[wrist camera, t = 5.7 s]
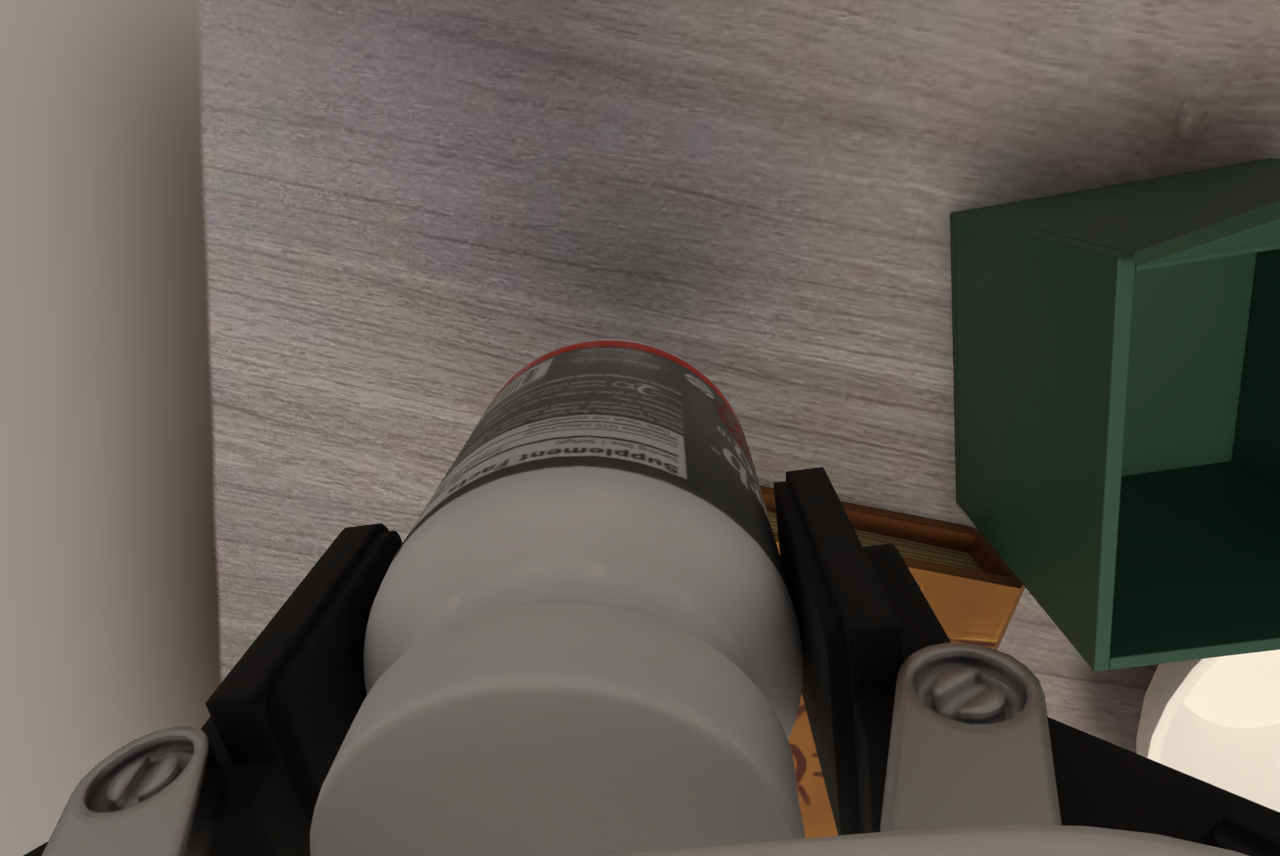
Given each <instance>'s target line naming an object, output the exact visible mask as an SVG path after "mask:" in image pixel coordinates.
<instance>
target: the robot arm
mask: <svg viewBox="0 0 1280 856" xmlns="http://www.w3.org/2000/svg"><path fill="white" fill-rule="evenodd" d="M774 497H775V507H776V518H777V528H778V539H779V549H780V557H781V561H782V564H783V567H784V571H785V574H786V577H787V581H788V584H789V588H790V591H791V594H792V598H793V601H794V605H795V609H796V613H797V617H798V625H799V631H800V637H801V643H802V649H803V683H802V692H801V693H802V697H803V700H804V704H805V708H806V712H807V716H808V720H809V724H810V728H811V732H812V735H813V739H814V743H815V747H816V751H817V755H818V759H819V763H820V767H821V770H822V774H823V778H824V782H825V786H826V790H827V794H828V798H829V802H830V805H831V809H832V813H833V817H834V821H835V825H836V829H837V832H838V836H828V837H816V838H804V839H792V840H781V841H769V842H757V843H745V844H734V845H722V846H710V847H698V848H687V849H675V850H663V851H651V852H639V853H628V854H616V855H604V856H1280V812H1277V811H1275V810H1272V809H1270V808H1268V807H1265V806H1263V805H1260V804H1258V803H1255V802H1253V801H1251V800H1248V799H1246V798H1243V797H1241V796H1238V795H1236V794H1233V793H1231V792H1229V791H1226V790H1224V789H1221V788H1219V787H1216V786H1214V785H1212V784H1209V783H1207V782H1204V781H1202V780H1199V779H1197V778H1195V777H1192V776H1190V775H1187V774H1185V773H1182V772H1180V771H1177V770H1175V769H1173V768H1170V767H1168V766H1165V765H1163V764H1160V763H1158V762H1156V761H1153V760H1151V759H1148V758H1146V757H1143V756H1141V755H1138V754H1136V753H1134V752H1131V751H1129V750H1126V749H1124V748H1121V747H1119V746H1117V745H1114V744H1112V743H1109V742H1107V741H1104V740H1102V739H1100V738H1097V737H1095V736H1092V735H1090V734H1087V733H1085V732H1082V731H1080V730H1078V729H1075V728H1073V727H1070V726H1068V725H1065V724H1063V723H1061V722H1058V721H1056V720H1053V719H1051V718H1048V717H1047V711H1046V703H1045V696H1044V693H1043V690H1042V687H1041V685H1040V682H1039V680H1038V679H1037V678H1036V677H1035V675H1034V674H1033V673H1032V672H1031V671H1030V670H1029V669H1028V668H1027V666H1025V665H1024V664H1022V663H1020V662H1019V661H1017V660H1016V659H1014V658H1013V657H1011V656H1010V655H1008V654H1005V653H1003V652H1000V651H997V650H995V649H992V648H990V647H985V646H980V645H975V644H970V643H951V641H950V639H949V638H948V636H947V634H946V632H945V631H944V629H943V627H942V625H941V624H940V622H939V620H938V618H937V617H936V615H935V613H934V612H933V610H932V608H931V606H930V605H929V603H928V601H927V599H926V598H925V596H924V594H923V593H922V591H921V589H920V587H919V586H918V584H917V582H916V580H915V579H914V577H913V575H912V573H911V572H910V570H909V568H908V567H907V565H906V563H905V561H904V560H903V558H902V556H901V554H900V553H899V551H898V549H897V548H896V547H895V545H894V544H891V543H889V544H881V545H873V546H864V547H863V546H862V544H861V542H860V540H859V538H858V536H857V534H856V532H855V530H854V528H853V526H852V524H851V522H850V520H849V518H848V516H847V514H846V512H845V510H844V508H843V506H842V504H841V502H840V500H839V498H838V496H837V494H836V492H835V490H834V488H833V486H832V484H831V482H830V480H829V478H828V476H827V474H826V472H825V470H824V468H823V467H820V468H812V469H804V470H796V471H789V472H786V481H784V482H776V483H774ZM401 545H402V541H401V538H400V536H399V534H398V533H397V532H396V531H389V530H388V529H387V528H386V526H385V525H383V524H382V523H381V524H372V525H364V526H357V527H349V528H345V529H344V530H343V531H342V532H341V533H340V534H339V535H338V537H337V538H336V539H335V540H334V542H333V543H332V544H331V546H330V547H329V548H328V549H327V551H326V552H325V553H324V554H323V556H322V557H321V558H320V559H319V561H318V562H317V563H316V564H315V566H314V567H313V568H312V569H311V571H310V572H309V573H308V574H307V576H306V577H305V578H304V580H303V581H302V582H301V583H300V585H299V586H298V587H297V588H296V590H295V591H294V592H293V593H292V595H291V596H290V597H289V598H288V600H287V601H286V602H285V603H284V605H283V606H282V607H281V609H280V610H279V611H278V612H277V614H276V615H275V616H274V617H273V619H272V620H271V621H270V622H269V624H268V625H267V626H266V627H265V629H264V630H263V631H262V632H261V634H260V635H259V636H258V638H257V639H256V640H255V641H254V643H253V644H252V645H251V646H250V648H249V649H248V650H247V651H246V653H245V654H244V655H243V656H242V658H241V659H240V660H239V661H238V663H237V664H236V665H235V667H234V668H233V669H232V670H231V672H230V673H229V674H228V675H227V677H226V678H225V679H224V680H223V682H222V683H221V684H220V685H219V687H218V688H217V689H216V690H215V692H214V693H213V695H212V696H211V697H210V698H209V699H208V701H207V702H206V703H205V704H206V706H207V708H208V710H209V712H210V714H211V717H210V718H209V719H208V721H207V722H206V723H205V724H204V726H203V727H202V728H201V730H200V729H197V728H194V727H191V726H184V727H183V726H182V727H172V728H167V729H163V730H159V731H155V732H153V733H150V734H148V735H145V736H143V737H140V738H138V739H136V740H134V741H132V742H130V743H129V744H127V745H125V746H123V747H121V748H120V749H118V750H116V751H115V752H113V753H112V754H110V755H109V756H108V757H106V758H105V759H104V760H102V761H101V762H100V763H98V764H97V765H96V766H95V767H94V768H93V769H92V770H91V771H90V772H89V773H88V774H87V775H86V776H85V777H84V778H83V779H82V780H81V781H80V783H79V784H78V785H77V787H76V788H75V790H74V791H73V793H72V794H71V796H70V798H69V800H68V802H67V804H66V807H65V808H64V810H63V813H62V815H61V817H60V819H59V821H58V823H57V825H56V827H55V829H54V831H53V833H52V835H51V837H50V839H49V841H48V842H46V843H45V844H43V845H41V846H39V847H38V848H36V849H34V850H32V851H31V852H29V853H27V854H26V855H24V856H310V829H311V824H312V818H313V813H314V809H315V805H316V802H317V799H318V796H319V793H320V790H321V787H322V785H323V783H324V781H325V779H326V777H327V775H328V772H329V770H330V768H331V766H332V764H333V762H334V760H335V758H336V756H337V754H338V752H339V749H340V747H341V745H342V743H343V741H344V739H345V737H346V735H347V733H348V731H349V729H350V726H351V724H352V722H353V721H354V719H355V717H356V715H357V713H358V711H359V709H360V707H361V705H362V703H363V701H364V699H365V698H366V696H367V694H366V688H365V683H364V661H363V655H364V643H365V635H366V628H367V623H368V619H369V615H370V611H371V608H372V605H373V603H374V600H375V597H376V595H377V592H378V590H379V588H380V585H381V583H382V581H383V579H384V577H385V575H386V573H387V571H388V569H389V566H390V564H391V562H392V560H393V558H394V556H395V554H396V553H397V551H398V550H399V548H400V547H401Z"/></svg>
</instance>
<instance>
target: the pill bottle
mask: <svg viewBox="0 0 1280 856" xmlns="http://www.w3.org/2000/svg"><path fill="white" fill-rule="evenodd" d="M363 661H364V683H365V688H366V694H367V696H366V698H365V699H364V701H363V703H362V705H361V707H360V709H359V711H358V713H357V715H356V717H355V719H354V721H353V722H352V724H351V726H350V729H349V731H348V733H347V735H346V737H345V739H344V741H343V743H342V745H341V747H340V749H339V752H338V754H337V756H336V758H335V760H334V762H333V764H332V766H331V768H330V770H329V772H328V775H327V777H326V779H325V781H324V783H323V785H322V787H321V790H320V793H319V796H318V799H317V802H316V805H315V809H314V813H313V818H312V824H311V829H310V856H604V855H616V854H628V853H639V852H651V851H663V850H675V849H687V848H698V847H710V846H722V845H734V844H745V843H757V842H769V841H781V840H792V839H804V838H805V833H804V827H803V822H802V816H801V810H800V804H799V798H798V792H797V785H796V776H795V768H794V762H793V757H792V752H791V747H790V744H789V742H788V739H789V737H790V734H791V731H792V729H793V726H794V723H795V720H796V717H797V713H798V709H799V705H800V699H801V692H802V683H803V649H802V643H801V637H800V631H799V625H798V617H797V613H796V609H795V605H794V601H793V598H792V594H791V591H790V588H789V584H788V581H787V577H786V574H785V571H784V567H783V564H782V561H781V557H780V554H779V551H778V548H777V544H776V541H775V538H774V535H773V531H772V528H771V524H770V521H769V517H768V514H767V510H766V507H765V503H764V499H763V497H762V494H761V490H760V487H759V483H758V479H757V475H756V472H755V468H754V465H753V462H752V458H751V455H750V452H749V448H748V445H747V443H746V439H745V436H744V433H743V430H742V428H741V425H740V423H739V421H738V419H737V417H736V415H735V413H734V411H733V409H732V407H731V405H730V404H729V403H728V401H727V400H726V398H725V397H724V395H723V394H722V393H721V392H720V390H719V389H718V388H717V387H716V386H715V384H714V383H713V382H712V381H711V380H710V379H709V378H708V377H707V376H705V375H704V374H703V373H702V372H701V371H700V370H698V369H697V368H696V367H694V366H693V365H692V364H690V363H689V362H687V361H686V360H684V359H683V358H681V357H679V356H677V355H675V354H673V353H671V352H669V351H666V350H664V349H662V348H659V347H657V346H653V345H650V344H646V343H642V342H637V341H631V340H624V339H594V340H586V341H581V342H576V343H573V344H569V345H566V346H563V347H560V348H557V349H555V350H552V351H550V352H548V353H546V354H544V355H542V356H540V357H538V358H537V359H535V360H534V361H532V362H531V363H529V364H528V365H526V366H525V367H524V368H523V369H521V370H520V371H519V372H518V373H517V374H516V375H514V376H513V377H512V378H511V379H510V380H509V381H508V382H507V383H506V384H505V386H504V387H503V388H502V389H501V390H500V392H499V393H498V394H497V396H496V397H495V398H494V400H493V401H492V402H491V404H490V405H489V407H488V409H487V410H486V412H485V413H484V415H483V416H482V418H481V419H480V421H479V422H478V424H477V426H476V428H475V429H474V431H473V433H472V434H471V436H470V437H469V439H468V441H467V442H466V444H465V445H464V447H463V449H462V450H461V452H460V454H459V455H458V457H457V458H456V460H455V461H454V463H453V465H452V466H451V468H450V469H449V471H448V472H447V474H446V476H445V477H444V479H443V480H442V482H441V483H440V485H439V487H438V488H437V490H436V492H435V493H434V495H433V496H432V498H431V500H430V501H429V502H428V504H427V505H426V507H425V509H424V511H423V512H422V514H421V515H420V517H419V519H418V520H417V522H416V523H415V525H414V526H413V528H412V529H411V531H410V533H409V535H408V536H407V538H406V539H405V541H404V542H403V544H402V545H401V547H400V548H399V550H398V551H397V553H396V554H395V556H394V558H393V560H392V562H391V564H390V566H389V569H388V571H387V573H386V575H385V577H384V579H383V581H382V583H381V585H380V588H379V590H378V592H377V595H376V597H375V600H374V603H373V605H372V608H371V611H370V615H369V619H368V623H367V628H366V635H365V643H364V655H363Z"/></svg>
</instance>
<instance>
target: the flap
mask: <svg viewBox="0 0 1280 856" xmlns="http://www.w3.org/2000/svg"><path fill="white" fill-rule="evenodd" d="M1276 244H1280V201H1277V202H1274V203H1271V204H1268V205H1266V206H1263V207H1260V208H1257V209H1254V210H1252V211H1249V212H1246V213H1243V214H1240V215H1238V216H1235V217H1232V218H1229V219H1226V220H1224V221H1221V222H1218V223H1215V224H1212V225H1210V226H1207V227H1204V228H1201V229H1198V230H1196V231H1193V232H1190V233H1187V234H1184V235H1181V236H1179V237H1176V238H1173V239H1170V240H1167V241H1165V242H1162V243H1159V244H1156V245H1153V246H1151V247H1148V248H1145V249H1142V250H1139V251H1137V252H1135V259H1136V265H1137V266H1138V267H1140V266H1146V265H1152V264H1158V263H1165V262H1171V261H1177V260H1183V259H1189V258H1196V257H1202V256H1208V255H1214V254H1220V253H1227V252H1233V251H1239V250H1245V249H1251V248H1258V247H1264V246H1270V245H1276Z"/></svg>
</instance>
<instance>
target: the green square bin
mask: <svg viewBox="0 0 1280 856" xmlns="http://www.w3.org/2000/svg"><path fill="white" fill-rule="evenodd" d="M1277 201H1280V159H1265V160H1259V161H1253V162H1247V163H1242V164H1236V165H1230V166H1224V167H1218V168H1212V169H1206V170H1200V171H1194V172H1189V173H1183V174H1177V175H1171V176H1165V177H1159V178H1153V179H1147V180H1142V181H1136V182H1130V183H1124V184H1118V185H1112V186H1106V187H1100V188H1095V189H1089V190H1083V191H1077V192H1071V193H1065V194H1059V195H1053V196H1048V197H1042V198H1036V199H1030V200H1024V201H1018V202H1012V203H1006V204H1001V205H995V206H989V207H983V208H977V209H971V210H965V211H959V212H953V213H951V257H952V303H953V349H954V395H955V441H956V487H957V504H958V505H959V506H960V507H961V509H962V510H963V511H964V512H965V514H966V515H967V516H968V517H969V518H970V520H971V521H972V522H973V523H974V525H975V526H976V527H977V528H978V529H979V531H980V532H981V533H982V534H983V536H984V537H985V538H986V539H987V540H988V542H989V543H990V544H991V545H992V547H993V548H994V549H995V550H996V552H997V553H998V554H999V555H1000V556H1001V558H1002V559H1003V560H1004V561H1005V563H1006V564H1007V565H1008V566H1009V567H1010V569H1011V570H1012V571H1013V572H1014V574H1015V575H1016V576H1017V577H1018V578H1019V580H1020V581H1021V582H1022V583H1023V585H1024V586H1025V587H1026V588H1027V590H1028V591H1029V592H1030V593H1031V594H1032V596H1033V597H1034V598H1035V599H1036V601H1037V602H1038V603H1039V604H1040V605H1041V607H1042V608H1043V609H1044V610H1045V612H1046V613H1047V614H1048V615H1049V616H1050V618H1051V619H1052V620H1053V621H1054V623H1055V624H1056V625H1057V626H1058V627H1059V629H1060V630H1061V631H1062V632H1063V634H1064V635H1065V636H1066V637H1067V639H1068V640H1069V641H1070V642H1071V643H1072V645H1073V646H1074V647H1075V648H1076V650H1077V651H1078V652H1079V653H1080V654H1081V656H1082V657H1083V658H1084V659H1085V661H1086V662H1087V663H1088V664H1089V665H1090V667H1091V668H1092V669H1093V670H1094V671H1105V670H1109V669H1110V670H1113V669H1121V668H1130V667H1138V666H1146V665H1155V664H1163V663H1171V662H1180V661H1188V660H1196V659H1205V658H1213V657H1222V656H1230V655H1238V654H1247V653H1255V652H1263V651H1272V650H1280V244H1276V245H1270V246H1264V247H1258V248H1251V249H1245V250H1239V251H1233V252H1227V253H1220V254H1214V255H1208V256H1202V257H1196V258H1189V259H1183V260H1177V261H1171V262H1165V263H1158V264H1152V265H1146V266H1140V267H1138V266H1137V265H1136V259H1135V252H1137V251H1139V250H1142V249H1145V248H1148V247H1151V246H1153V245H1156V244H1159V243H1162V242H1165V241H1167V240H1170V239H1173V238H1176V237H1179V236H1181V235H1184V234H1187V233H1190V232H1193V231H1196V230H1198V229H1201V228H1204V227H1207V226H1210V225H1212V224H1215V223H1218V222H1221V221H1224V220H1226V219H1229V218H1232V217H1235V216H1238V215H1240V214H1243V213H1246V212H1249V211H1252V210H1254V209H1257V208H1260V207H1263V206H1266V205H1268V204H1271V203H1274V202H1277Z"/></svg>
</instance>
